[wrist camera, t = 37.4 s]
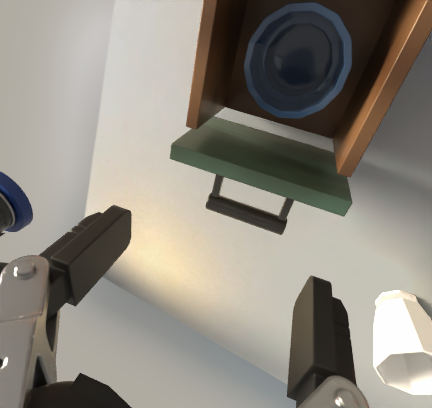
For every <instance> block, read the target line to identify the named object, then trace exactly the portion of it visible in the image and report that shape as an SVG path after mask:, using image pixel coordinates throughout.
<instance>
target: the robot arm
mask: <svg viewBox="0 0 432 408" xmlns="http://www.w3.org/2000/svg"><path fill="white" fill-rule="evenodd" d="M16 221H17V214H16V211H15V209H14V207H13V205H12V203H11V202H10V200H9V199H8V198H7V196H6V195H5V194H4V193H3V192H2V191H1V190H0V236H1V235H3V234H4V233H1V232H3V231H4V230H6V229H7V228H10V227H12V226H13V225H15V223H16ZM130 240H131V211H130V210H127V209H124V208H121V207H118V206H115V205H113V206H111V207H110V208H109V209H107V210H106V211H105V212H104V213H100V212H98V213H95V214H93V215H90V216H88V217H86V218H85V219H84V220H82V221H81V222H80V223H79V224H78V225H77V226H75V227H74V228H72V229H71V230H70V232H67V233H66V234H65V235H63V236H62V237H61V238H60V239H58V240H57V241H56V242H55V243H53V244H52V245H51V246H50V247H48V248H47V249H46V250H45V251H44V252H42V253H41V254H40V255H38V256H37V255H29V256H24V257H20V258H18V259H15V260H14V261H12V262H10V263H0V408H131V407H130V406H129V405H128V404H127V403H126V402H125V401H124V400H123V399H122V398H121V397H120V396H119V395H118V394H117V393H116V392H114V391H113V390H112V389H111V388H110V387H109V386H108V385H106V384H103V383H101V382H99V381H97V380H95V379H92V378H90V377H88V376H86V375H84V374H82V373H80V374H79V375H78V377H77V378H76V380H75V381H63V382H57V372H56V350H57V339H58V329H59V317H60V308H61V307H62V306H63V305H64V304H65V303H69V304H71V305H74V306H76V305H77V304H78V303H79V302H80V301H81V300H82V299H83V297H84V296H85V295H86V294H87V293H88V292H89V291H90V290H91V288H92V287H93V286H94V285H95V284H96V283H97V281H98V280H99V279H100V278H101V277H102V276H103V275H104V274H105V272H106V271H107V270H108V269H109V268H110V267H111V266H112V265H113V263H114V262H115V261H116V260H117V259H118V258H119V257H120V255H121V254H122V253H123V252H124V251H125V250H126V248H127V247H128V245H129V243H130ZM348 327H349V322H348V314H347V311H346V309H345V307H344V306H343V304H342V302H341V300H339V299H337V298H334V297H332V286H331V283H330V282H329V281H326V280H323V279H320V278H317V277H315V276H310V277H309V279H308V280H307V282H306V284H305V286H304V287H303V289H302V291H301V293H300V294H299V296H298V298H297V300H296V302H295V306H294V310H293V320H292V334H291V348H290V361H289V375H288V389H287V397H289V398H291V399H293V400H296V401H297V402H296V408H369V405H368V402H367V400H366V398H365V396H364V395H363V393H362V392H361V391H360V389H359V388H358V387H357V384H356V378H355V370H354V362H353V354H352V346H351V339H350V330H349V328H348Z"/></svg>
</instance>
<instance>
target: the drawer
mask: <svg viewBox="0 0 432 408" xmlns="http://www.w3.org/2000/svg"><path fill="white" fill-rule="evenodd" d="M300 2H317V3H319V4H321V5H323V6H325V7H327V8H328V9H330V10H332V11H334V12H336V13H337V14H338V15H339V16H340V17H341V19H342V21H343V23H344V25H345V26H346V28H347V30H348V32H349V34H350V35H351V38H352V67H351V70H350V72H349V74H348V77H347V79H346V81H345V84H344V86H343V88H342V91H341V92H340V93H339V94H338V95H337V96H336V97H335V98H334V99H333V100H332V101H331V102H330V103H329V104H328V105H327V106H326V107H325V108H324V109H322V110H320V111H318V112H315V113H313V114H310V115H308V116H305V117H303V118H279V117H277V116H275V115H273V114H271V113H269V112H268V111H266V110H264V109H262V108H261V107H259V105H258V104H257V102H256V101H255V99H254V98H253V96H252V95H251V94H250V92H249V91H248V89H247V84H246V78H245V72H244V61H245V56H246V52H247V47H248V43H249V40H250V38H251V37H252V36H253V34H254V33H255V31H256V30H257V28H258V27H259V25H260V24H261V23H262V21H263V20H264V18H265V17H267V16H269V15H270V14H272V13H273V12H275V11H277V10H278V9H280V8H282V7H283V6H285V5H287V4H289V3H300ZM431 30H432V0H203V5H202V12H201V20H200V27H199V34H198V42H197V49H196V56H195V64H194V71H193V78H192V86H191V93H190V100H189V108H188V115H187V122H186V126H187V127H190V128H192V129H191V130H189V131H188V132H187V133H185V134H184V135H183V136H181V137H180V138H179V139H177V140H176V141H175V142H173V143H172V144H171V153H170V159H172V160H175V161H178V162H181V163H184V164H187V165H190V166H193V167H196V168H199V169H202V170H205V171H208V172H211V173H214V174H216V177H215V181H214V186H213V190H212V193H210V195H209V197H208V199H207V202H206V209H209V210H212V211H215V212H217V213H220V214H223V215H226V216H229V217H232V218H234V219H237V220H240V221H243V222H246V223H249V224H251V225H254V226H257V227H260V228H263V229H265V230H268V231H271V232H274V233H277V234H280V235H282V234H283V232H284V230H285V227H286V224H287V218H286V217H287V215H288V213H289V211H290V208H291V206H292V204H293V202H294V200H295V201H298V202H301V203H305V204H308V205H311V206H314V207H317V208H320V209H323V210H326V211H329V212H332V213H335V214H338V215H341V216H345V214H346V213H347V211H348V209H349V208H350V206H351V204H352V198H351V194H350V189H349V184H348V179H347V177H351V176H352V174H353V172H354V170H355V168H356V166H357V165H358V163H359V161H360V159H361V157H362V156H363V154H364V152H365V150H366V148H367V147H368V145H369V143H370V141H371V139H372V137H373V136H374V134H375V132H376V130H377V128H378V127H379V125H380V123H381V121H382V119H383V117H384V116H385V114H386V112H387V110H388V108H389V107H390V105H391V103H392V101H393V99H394V98H395V96H396V94H397V92H398V90H399V88H400V87H401V85H402V83H403V81H404V79H405V78H406V76H407V74H408V72H409V70H410V69H411V67H412V65H413V63H414V61H415V59H416V58H417V56H418V54H419V52H420V50H421V49H422V47H423V45H424V43H425V41H426V40H427V38H428V36H429V34H430V32H431ZM224 107H227V108H230V109H233V110H237V111H240V112H244V113H247V114H250V115H254V116H257V117H261V118H264V119H267V120H271V121H274V122H278V123H281V124H285V125H288V126H291V127H295V128H298V129H302V130H305V131H308V132H312V133H315V134H319V135H322V136H325V137H329V138H332V139H333V145H334V152H335V153H334V152H330V151H327V150H324V149H320V148H317V147H314V146H310V145H307V144H304V143H300V142H297V141H294V140H290V139H287V138H284V137H280V136H277V135H274V134H270V133H267V132H264V131H261V130H257V129H254V128H251V127H247V126H244V125H241V124H237V123H234V122H231V121H227V120H224V119H221V118H217V117H214V115H216V114H217V113H218V112H219V111H221V110H222V109H223V108H224ZM224 177H226V178H229V179H232V180H235V181H238V182H241V183H244V184H247V185H250V186H253V187H256V188H259V189H262V190H265V191H268V192H271V193H274V194H277V195H280V196H283V197H286V199H285V201H284V204H283V206H282V209H281V211H280V213H279V216H278V215H275V214H272V213H269V212H266V211H264V210H261V209H258V208H255V207H252V206H249V205H246V204H243V203H240V202H237V201H234V200H232V199H229V198H226V197H223V196H220V195H219V194H220V190H221V186H222V182H223V178H224Z"/></svg>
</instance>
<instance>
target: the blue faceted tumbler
mask: <svg viewBox="0 0 432 408" xmlns="http://www.w3.org/2000/svg"><path fill="white" fill-rule="evenodd" d="M351 67H352V38H351V35H350V34H349V32H348V30H347V28H346V26H345V25H344V23H343V21H342V19H341V17H340V16H339V15H338V14H337V13H336V12H334V11H332V10H330V9H328V8H327V7H325V6H323V5H321V4H319V3H317V2H300V3H289V4H287V5H285V6H283V7H282V8H280V9H278V10H277V11H275V12H273V13H272V14H270V15H269V16H267V17H265V18H264V20H263V21H262V23H261V24H260V25H259V27H258V28H257V30H256V31H255V33H254V34H253V36H252V37H251V38H250V40H249V43H248V47H247V52H246V56H245V61H244V72H245V78H246V84H247V89H248V91H249V92H250V94H251V95H252V96H253V98H254V99H255V101H256V102H257V104H258V105H259V107H261V108H262V109H264V110H266V111H268V112H269V113H271V114H273V115H275V116H277V117H279V118H303V117H305V116H308V115H310V114H313V113H315V112H318V111H320V110H322V109H324V108H325V107H326V106H327V105H328V104H329V103H330V102H331V101H332V100H333V99H334V98H335V97H336V96H337V95H338V94H339V93H340V92H341V91H342V88H343V86H344V84H345V81H346V79H347V77H348V74H349V72H350V70H351Z"/></svg>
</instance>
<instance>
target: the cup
mask: <svg viewBox="0 0 432 408" xmlns="http://www.w3.org/2000/svg"><path fill="white" fill-rule="evenodd" d="M375 304H376V306H377V309H376V312H375V319H374V368H375V370H376V371H377V373H378V374H379V376H380V378H381V379H382V381H383V382H384V383H385V384H387V385H390V386H392V387H395V388H397V389H400V390H402V391H405V392H407V393H410V394H413V395H432V320H431V319H430V317H429V316H428V315H427V313H426V312H425V311H424V310H423V308H422V307H421V306H420V304H419V303H418V301H417V299H416V297H415V295H412V294H409V293H406V292H403V291H400V290H396V291H390V292H384V293H382V294H381V295H380V296H379V298H378V299H377V300H376V301H375Z"/></svg>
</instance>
